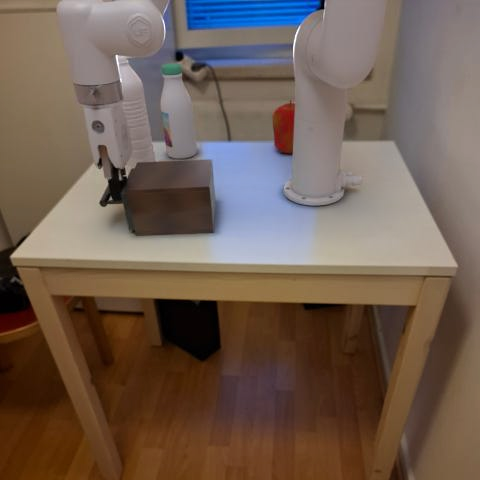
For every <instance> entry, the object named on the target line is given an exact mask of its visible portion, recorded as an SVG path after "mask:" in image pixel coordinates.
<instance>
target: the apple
mask: <svg viewBox="0 0 480 480" xmlns="http://www.w3.org/2000/svg"><path fill="white" fill-rule="evenodd" d="M294 116H295V102H293V101H292V99H290V101H289V102H288V103H284V104H282V105H280V106H277V107H276V108H275V109H274V111H273V113H272V117H271V118H272V131H273V143H274V144H273V145H274V147H275V148H276V149H277V150H278V151H279V152H280V153H283V154H289V155H291V154H292V155H293V138H294Z"/></svg>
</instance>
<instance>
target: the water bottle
mask: <svg viewBox="0 0 480 480" xmlns="http://www.w3.org/2000/svg"><path fill="white" fill-rule="evenodd" d="M117 58H118V64H119V70H120V76H121V82H122V87H123V93H124V99H125V101H124V103H122V104H123V107H124V111H125V115H126V120H127V124H128V129H129V133H130V138H131V143H132V153H131V156H130V158H129V160H128V162H127V164H126V166H125V168H126V172H127V176H128V175H129V173H130V171H131V169H132V168H135V166H136V164H137V162H157V161H156V156H155V155H156V154H155V150H154V145H153V137H152V134H151V125H150V122H149V115H148V110H147V104H146V103H147V102H146V97H145V90H144V85H143V81H142V80H141V78H140V77H139V75H138V74H137V73H136V72H135V70H134V69H133V68H132V67H131V65H130V64H129V62H130V61H129V60H128V59H130V58H131V59H132V58H134V57H127V56H117Z"/></svg>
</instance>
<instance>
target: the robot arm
mask: <svg viewBox="0 0 480 480" xmlns="http://www.w3.org/2000/svg"><path fill="white" fill-rule="evenodd" d="M169 3H170V0H113V1H103V0H60V1H58V3H57V5H56V17H57V18H56V19H57V22H58V26H59V30H60V35H61V38H62V43H63V46H64V51H65V55H66V60H67V63H68V68H69V71H70V77H71V81H72V85H73V89H74V93H75V98H76V102H77V105H78V106H79V107H81V108H83V113H84V118H85V119H84V120H85V127H86V133H87V138H88V143H89V146H90V152H91V155H92V160H93V163H94V166H95V168H96V169H98V170H101V169H102V171H103V178H104V179H106V181H107V186H108V185H109V189H110V194H111V197H110V199H111V200H122V197H121V192H122V189H123V187H124V185H125V182H126V180H127V178H128V175H127V168H126V164H127V162H128V160H129V158H130V156H131V153H132V143H131V138H130V133H129V129H128V124H127V120H126V115H125V111H124V107H123V104H122V103H124V101H125V99H124V93H123V87H122V82H121V76H120V70H119V64H118V58H117V56H127V57H133V58H139V59H142V58H148V57H152V56H153V55H155V54H156V53H158V52H159V51H160V49H161V48H162V46H163V45H164V42H165V39H166V25H165V24H166V23H165V21H164V18H163V17H164V14H165V12H166V10H167V8H168V6H169ZM387 6H388V0H324V9H318V10H315V11H314V12H311V13H310V14H308V15H307V17H305V18H304V19H303V21H302V22H301V23H300V25H299V26H298V29H297V30H296V34H295V36H294V40H293V49H292V50H293V56H292V59H293V71H294V72H293V73H294V88H295V89H294V90H295V91H294V93H295V94H294V104H295V116H294V138H293V153H292V162H291V163H292V165H291V179H289V180H287V182H285V184H284V185H283V194H284V196H285V197H286V198H287V199H288V200H289V201H291V202H293V203H295V204H296V203H297V204H299V205H303V206H311V207H312V206H313V207H315V206H317V207H318V206H327V205H331V204H334V203H336V202H338V201H340V200H341V199H342V198H343V197H344V195H345V188H346V186H361V185H362V181H363V177H362V175H354V172H353V171H345V172H342V171H341V169H340V167H341V159H342V150H343V142H344V141H343V140H344V133H345V124H346V116H347V108H348V96H349V94H348V90H349V89H351V88H354V87H356V86H358V85H359V84H361V83H362V82H363V81H364V80H365V79H366V78H367V77H368V76H369V74H370V73H371V71H372V70H373V67H374V66H375V63H376V60H377V58H378V55H379V51H380V46H381V41H382V37H383V36H382V35H383V30H384V24H385V17H386V11H387Z"/></svg>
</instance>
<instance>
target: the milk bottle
mask: <svg viewBox="0 0 480 480" xmlns="http://www.w3.org/2000/svg"><path fill="white" fill-rule="evenodd" d="M160 68H161V76H162V78H163V88H162V92H161V95H160V103H159V105H160V116H161V123H162V129H163V136H164V143H165V149H166V154H167V156H168V157H169V158H171V159H176V160H177V159H178V160H179V159H182V160H183V159H188V158H191V157H194V156H195V155H196V154H197V153H198V145H197V134H196V125H195V124H196V123H195V116H194V108H193V102H192V99H191V96H190V94H189V92H188V90H187V89H186V86H185V84H184V81H183V74H184V73H183V67H182V64H181V63H179V62H168V63H164V64H162V65H161V66H160Z"/></svg>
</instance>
